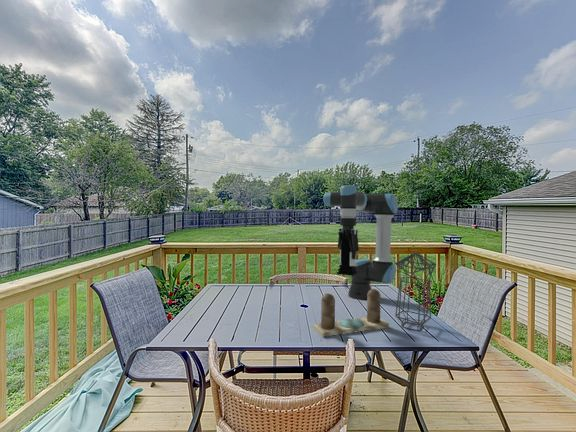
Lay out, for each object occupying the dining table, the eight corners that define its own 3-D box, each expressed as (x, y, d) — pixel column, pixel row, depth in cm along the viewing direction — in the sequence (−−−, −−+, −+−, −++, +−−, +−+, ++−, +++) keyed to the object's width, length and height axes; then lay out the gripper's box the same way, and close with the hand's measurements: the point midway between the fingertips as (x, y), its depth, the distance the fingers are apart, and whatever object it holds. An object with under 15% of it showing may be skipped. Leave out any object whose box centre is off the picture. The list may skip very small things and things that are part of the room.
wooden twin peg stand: (375, 319, 150) (375, 285, 150) (389, 327, 140) (390, 291, 139) (312, 328, 139) (312, 291, 139) (323, 337, 128) (323, 298, 128)
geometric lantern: (401, 318, 152) (404, 249, 152) (435, 326, 142) (438, 252, 142) (390, 327, 140) (392, 252, 139) (425, 337, 130) (429, 256, 129)
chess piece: (357, 272, 148) (358, 232, 148) (353, 275, 140) (354, 232, 140) (341, 271, 151) (342, 231, 151) (336, 274, 144) (337, 232, 144)
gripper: (331, 217, 155) (330, 261, 155) (352, 217, 134) (352, 268, 134) (344, 217, 157) (343, 260, 157) (367, 218, 137) (366, 267, 137)
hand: (347, 264), depth 146 cm, fingers closed on chess piece, 9 cm apart
